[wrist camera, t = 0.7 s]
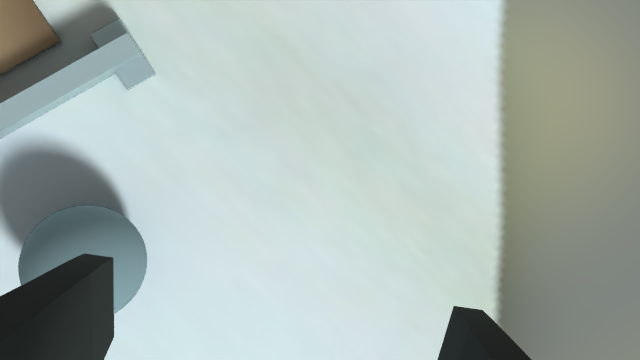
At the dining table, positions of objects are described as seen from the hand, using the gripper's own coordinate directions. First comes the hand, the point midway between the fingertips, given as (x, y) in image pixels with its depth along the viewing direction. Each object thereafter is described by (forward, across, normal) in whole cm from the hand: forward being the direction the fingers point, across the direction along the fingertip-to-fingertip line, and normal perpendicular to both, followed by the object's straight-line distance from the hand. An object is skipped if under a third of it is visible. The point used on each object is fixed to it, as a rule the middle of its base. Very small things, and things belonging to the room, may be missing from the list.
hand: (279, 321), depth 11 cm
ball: (+12, +10, +7) cm, 17 cm away
